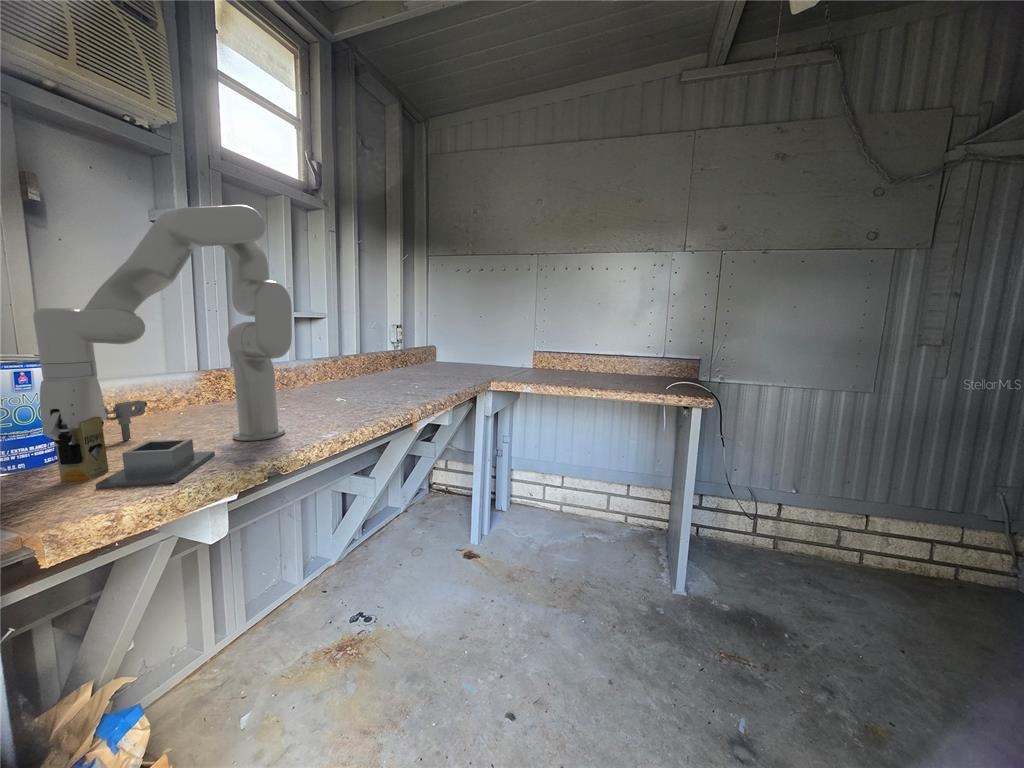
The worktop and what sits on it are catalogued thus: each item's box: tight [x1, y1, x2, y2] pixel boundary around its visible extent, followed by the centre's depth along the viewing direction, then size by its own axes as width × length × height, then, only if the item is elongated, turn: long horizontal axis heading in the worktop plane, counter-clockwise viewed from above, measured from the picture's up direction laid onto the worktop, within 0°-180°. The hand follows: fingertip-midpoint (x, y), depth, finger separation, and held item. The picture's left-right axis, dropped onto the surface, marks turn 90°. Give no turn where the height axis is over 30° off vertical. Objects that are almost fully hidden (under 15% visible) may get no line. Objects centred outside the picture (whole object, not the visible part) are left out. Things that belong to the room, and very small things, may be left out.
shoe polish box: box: [54, 417, 110, 483], centre depth 85 cm, size 5×5×12 cm
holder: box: [94, 438, 216, 490], centre depth 90 cm, size 18×13×6 cm
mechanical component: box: [104, 399, 148, 441], centre depth 110 cm, size 3×10×10 cm, turn 160°
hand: (83, 457), depth 86 cm, fingers open, 5 cm apart
